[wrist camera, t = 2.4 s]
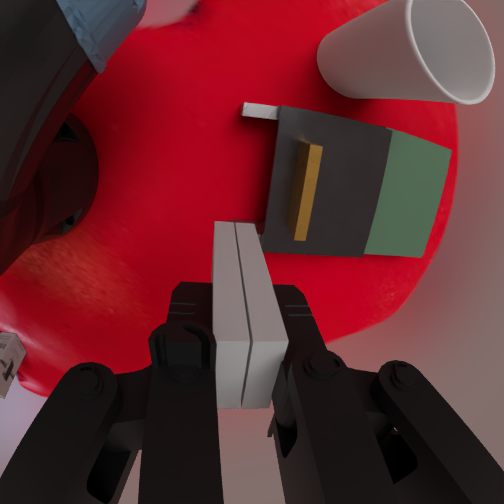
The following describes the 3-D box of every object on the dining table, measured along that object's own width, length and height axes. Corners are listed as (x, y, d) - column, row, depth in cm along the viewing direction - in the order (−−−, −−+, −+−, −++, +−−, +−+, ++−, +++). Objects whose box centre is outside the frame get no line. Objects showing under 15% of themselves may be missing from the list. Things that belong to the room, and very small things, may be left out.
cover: (260, 248, 28) (266, 268, 25) (279, 105, 22) (289, 104, 19) (359, 253, 30) (374, 271, 27) (388, 129, 24) (410, 134, 20)
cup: (377, 30, 22) (480, 2, 8) (390, 97, 26) (501, 108, 12) (308, 29, 22) (390, -28, 8) (324, 101, 26) (422, 103, 12)
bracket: (228, 229, 31) (229, 243, 28) (241, 103, 25) (244, 102, 22) (346, 237, 33) (358, 251, 30) (369, 127, 27) (386, 130, 24)
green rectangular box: (345, 239, 34) (357, 253, 30) (369, 124, 27) (386, 127, 24) (407, 245, 35) (421, 257, 32) (433, 145, 29) (451, 150, 26)
